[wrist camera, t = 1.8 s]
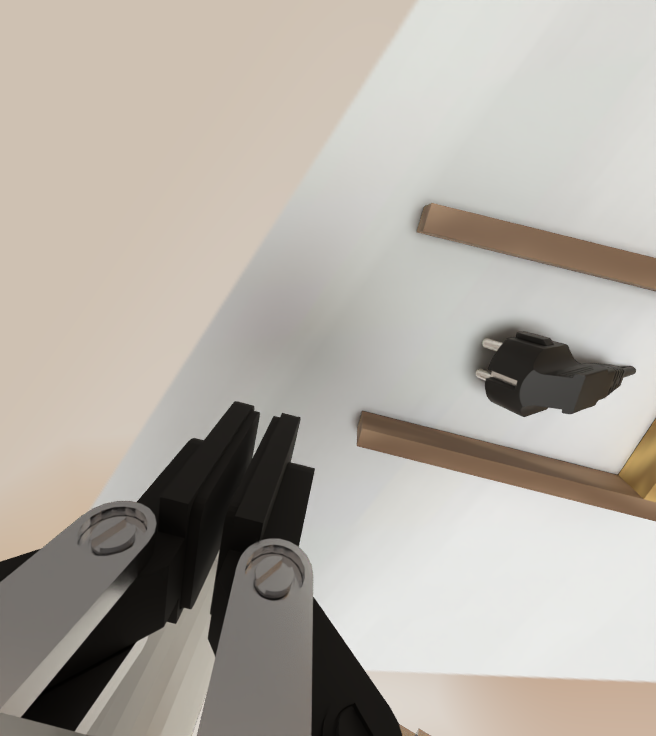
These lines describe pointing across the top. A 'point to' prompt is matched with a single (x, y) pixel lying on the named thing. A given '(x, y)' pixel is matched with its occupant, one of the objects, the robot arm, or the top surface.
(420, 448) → the brown wooden u-shaped frame
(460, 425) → the top surface
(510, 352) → the power plug
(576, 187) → the top surface
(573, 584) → the top surface
